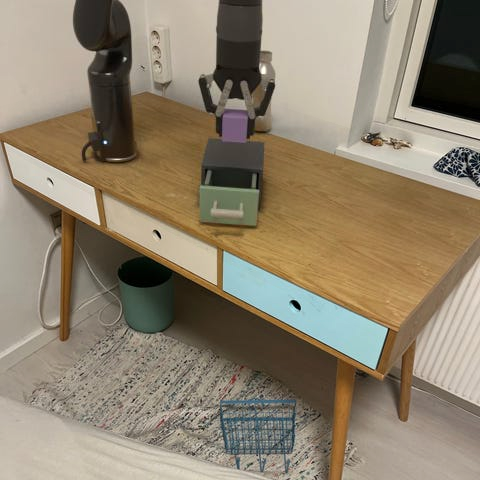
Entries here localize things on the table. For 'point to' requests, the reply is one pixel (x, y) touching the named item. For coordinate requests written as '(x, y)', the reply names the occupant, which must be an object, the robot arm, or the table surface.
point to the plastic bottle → (269, 73)
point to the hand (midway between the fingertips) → (234, 136)
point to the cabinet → (234, 159)
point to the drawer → (229, 198)
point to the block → (234, 125)
